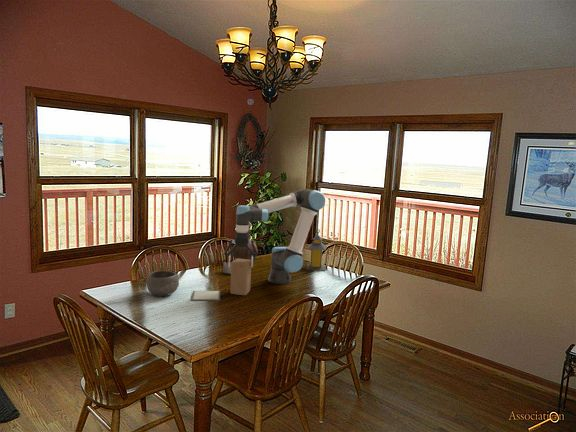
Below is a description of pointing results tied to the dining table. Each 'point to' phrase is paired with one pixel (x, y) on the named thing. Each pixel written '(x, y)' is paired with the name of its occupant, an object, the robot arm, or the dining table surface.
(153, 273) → the bowl
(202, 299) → the mat
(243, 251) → the vase
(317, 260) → the lantern
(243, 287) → the wooden block
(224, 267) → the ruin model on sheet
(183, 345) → the dining table surface
